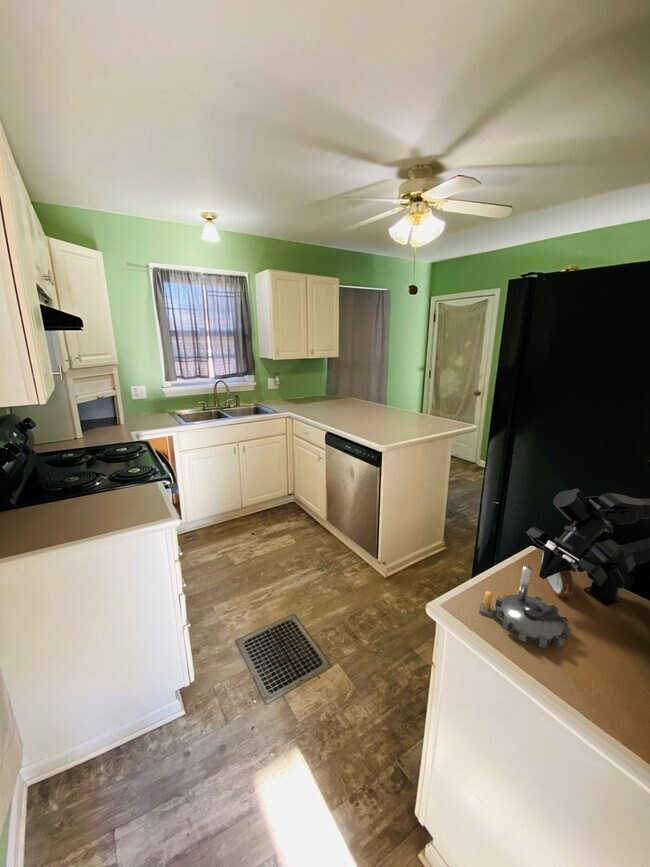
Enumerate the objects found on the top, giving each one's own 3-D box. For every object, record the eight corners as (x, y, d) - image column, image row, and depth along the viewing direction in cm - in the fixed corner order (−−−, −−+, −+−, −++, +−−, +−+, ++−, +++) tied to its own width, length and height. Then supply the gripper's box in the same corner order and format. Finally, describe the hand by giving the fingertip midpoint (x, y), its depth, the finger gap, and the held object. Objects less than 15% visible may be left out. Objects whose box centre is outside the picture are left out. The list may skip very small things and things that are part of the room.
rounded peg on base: (492, 609, 90) (496, 591, 88) (492, 617, 87) (495, 599, 86) (479, 605, 91) (483, 587, 90) (479, 612, 89) (482, 595, 87)
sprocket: (527, 592, 94) (535, 557, 91) (585, 638, 80) (596, 598, 77) (480, 604, 89) (487, 568, 87) (532, 655, 75) (542, 614, 73)
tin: (571, 604, 92) (578, 576, 90) (557, 602, 93) (564, 575, 91) (548, 568, 107) (553, 544, 104) (536, 567, 107) (542, 542, 105)
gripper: (632, 570, 86) (588, 618, 85) (561, 530, 103) (524, 570, 102) (616, 547, 81) (570, 597, 81) (545, 509, 98) (507, 550, 98)
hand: (540, 577), depth 91 cm, fingers closed
